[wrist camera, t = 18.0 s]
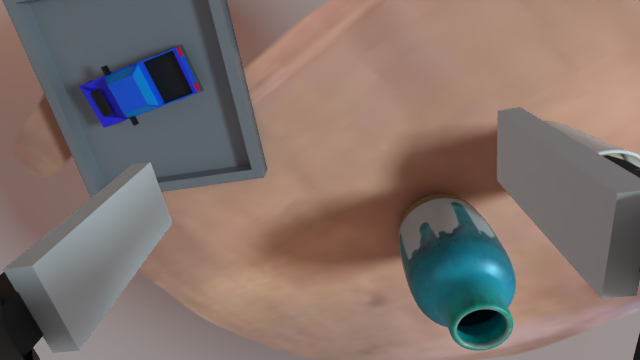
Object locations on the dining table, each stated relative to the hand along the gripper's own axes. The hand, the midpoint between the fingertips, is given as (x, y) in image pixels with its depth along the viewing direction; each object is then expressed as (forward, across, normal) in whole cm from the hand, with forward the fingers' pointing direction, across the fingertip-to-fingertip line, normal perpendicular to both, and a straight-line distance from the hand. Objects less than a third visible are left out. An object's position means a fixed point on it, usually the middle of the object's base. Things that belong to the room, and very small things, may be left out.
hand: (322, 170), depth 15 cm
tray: (+32, -21, 0) cm, 38 cm away
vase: (+32, +10, -22) cm, 40 cm away
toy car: (+31, -21, 0) cm, 38 cm away
